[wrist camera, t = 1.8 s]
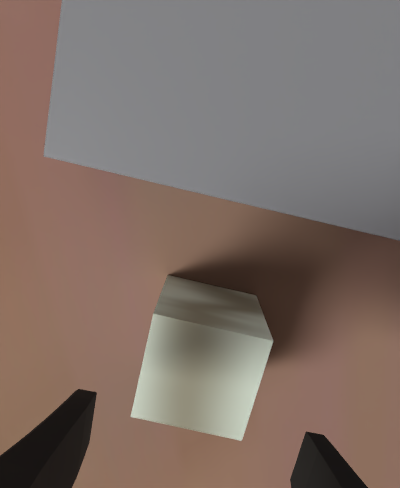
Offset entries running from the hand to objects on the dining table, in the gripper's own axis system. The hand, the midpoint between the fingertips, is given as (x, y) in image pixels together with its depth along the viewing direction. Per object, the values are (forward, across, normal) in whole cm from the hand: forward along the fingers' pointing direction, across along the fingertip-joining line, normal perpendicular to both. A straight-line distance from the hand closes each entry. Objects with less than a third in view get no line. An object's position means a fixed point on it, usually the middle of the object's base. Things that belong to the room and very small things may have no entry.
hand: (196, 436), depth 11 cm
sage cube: (+8, 0, 0) cm, 8 cm away
